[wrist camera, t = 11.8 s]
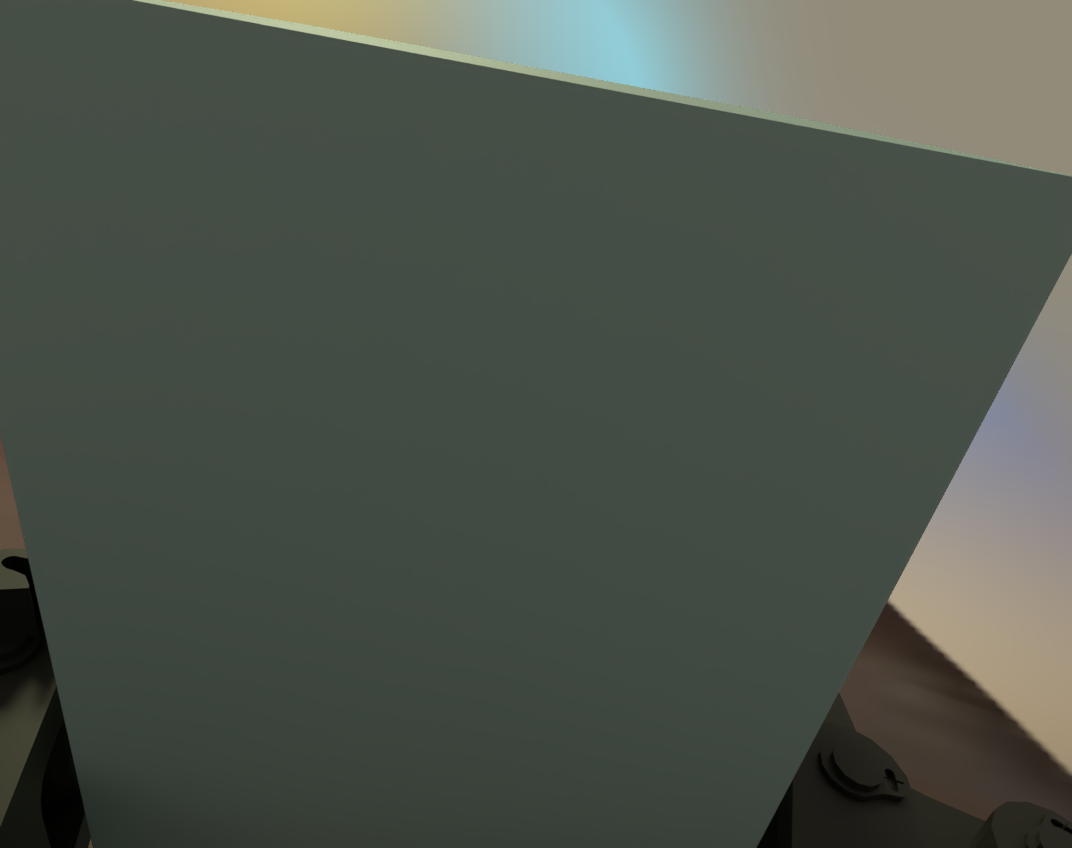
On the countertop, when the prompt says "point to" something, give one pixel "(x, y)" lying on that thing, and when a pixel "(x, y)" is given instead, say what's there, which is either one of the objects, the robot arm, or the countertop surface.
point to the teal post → (467, 426)
